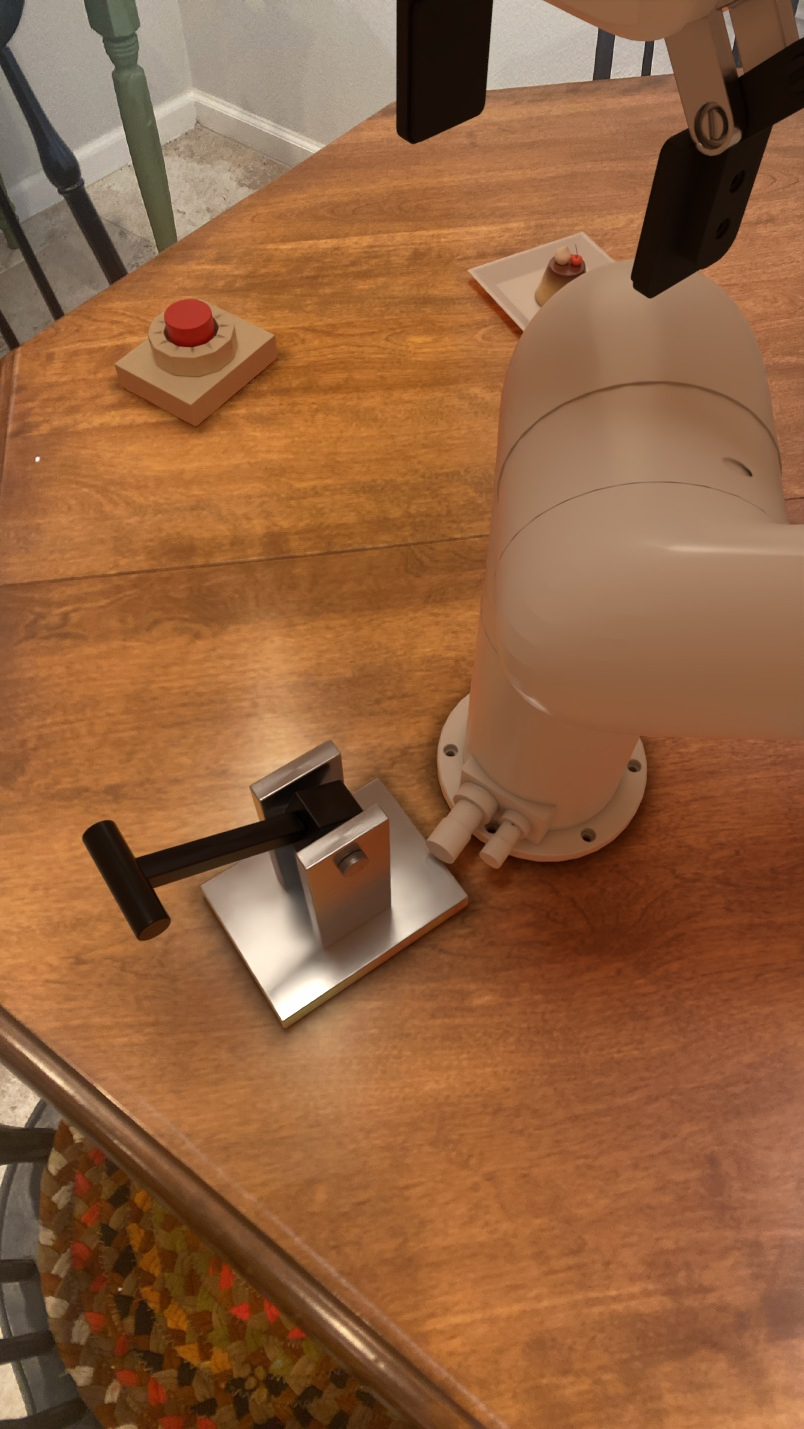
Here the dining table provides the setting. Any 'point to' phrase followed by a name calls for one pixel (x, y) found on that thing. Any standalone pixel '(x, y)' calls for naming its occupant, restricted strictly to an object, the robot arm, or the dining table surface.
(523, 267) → the dessert
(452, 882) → the bracket
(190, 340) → the button
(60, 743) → the dining table surface
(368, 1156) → the dining table surface
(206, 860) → the lever
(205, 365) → the button block
